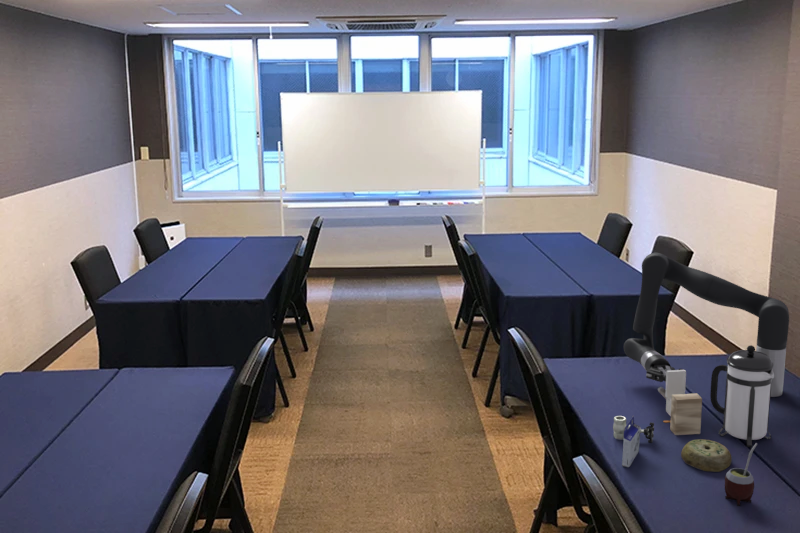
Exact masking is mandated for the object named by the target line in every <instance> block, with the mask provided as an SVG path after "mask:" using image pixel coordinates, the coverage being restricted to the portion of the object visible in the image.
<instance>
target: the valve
mask: <svg viewBox="0 0 800 533" xmlns="http://www.w3.org/2000/svg"><path fill="white" fill-rule="evenodd" d="M626 425H627V418H626V417H625V416H622V415H616V416H614V417H613V424H612V431H613V438H615V439H616V440H620V441H622V440H624V428H625V427H626ZM629 427H630V425H629ZM629 427H628V428H629ZM654 431H655V422H652V421H651V422H649V425H648V426H646V427H645V428H643V429H642V428H641V427H640V435H641V434H643V435H644V437H645V438H646V440H647V443H648V444H652V443H653V441H654V440H653V439H654V437H655V436H654Z"/></svg>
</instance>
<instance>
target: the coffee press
mask: <svg viewBox="0 0 800 533" xmlns="http://www.w3.org/2000/svg"><path fill="white" fill-rule="evenodd" d="M773 367H774V364H773V362H772V361H771V359H770V357H769V356H767V355H766V354H764V353H761V352H758V351H756V348H755V346H754V345H748V346H747V347H746V349H740V350H737V351H733V352H732V353H730V355H729V356H728V357H727V359H726V364H719V365H717V366H715V367H714V368H713V370H712V372H711V379H710V393H709V394H710V395H709V396H710V402H711V406H712V407H713V409H715V411H717V412H719V413H720V414H722V415H723V422H722V423H723V424H722V427H721V428H720V429H719V430H718V434H719V436H720V437H723V436H727V434H729V435H730V436H732V437H734V438H737V439H741V440H745V444H746V446H745V447H747V448H753V441H756V440H760V439H762V438H765V439H767V440H771V439H772V435H771V433H770V432H769V418H770V417H769V416H770V408H771V407H770V404H771V397H770V395H771V382H772V378H774V372H773ZM721 372H726V379H725V393H724V407H722V405H720V403H719V402H718V387H719V385H718V384H719V375H720V373H721ZM724 430H725V431H724ZM723 431H724V432H723ZM721 432H723V433H721ZM767 434H769V436H766V435H767Z"/></svg>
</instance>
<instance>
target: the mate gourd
mask: <svg viewBox="0 0 800 533" xmlns="http://www.w3.org/2000/svg"><path fill="white" fill-rule="evenodd" d="M757 446H758V443H757V442H755V444H754V445H752V447H751V448H750V451H749V452H748V455H747V460H746V465H745V468H742V467H741V468H739V467H734V468H733V467H732V468H730V469H729V470H728V471H727V472H726V474H725V476H724V490H725V491H724V492H725V496H724V497H725V500H731V501H736V506H737V507H741V503H742V502H743V503H752V497H753V494H754V490H755V480H754V476H753V474H751V471H749V470H748V468H749V466H750V461H751V458H752V456H753V452H754V450H755V449H756V447H757Z"/></svg>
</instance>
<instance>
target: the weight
mask: <svg viewBox="0 0 800 533" xmlns="http://www.w3.org/2000/svg"><path fill="white" fill-rule="evenodd" d="M680 452H681V453H680V457H681V459H682V460H683V462H684V463H685V464H687V465H689V466H691V467H693V468H695V469H698V470H700V471H704V472H712V473H713V472H715V473H716V472H720V473H721V472H723V471H725V470H726V469H727V468H729V467H730V466H731V465H732V458H733V457H732V454H731V451H730V450H729V449H728V448H727V447H726V446H725V445H723V444H722V443H720V442H718V441H715V440H710V439H705V438H704V439H702V438H700V439H699V438H697V439H692V440H689V441H688V442H687V443H686V444H685V445H684V446H683V447H682V449H681V451H680Z"/></svg>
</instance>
